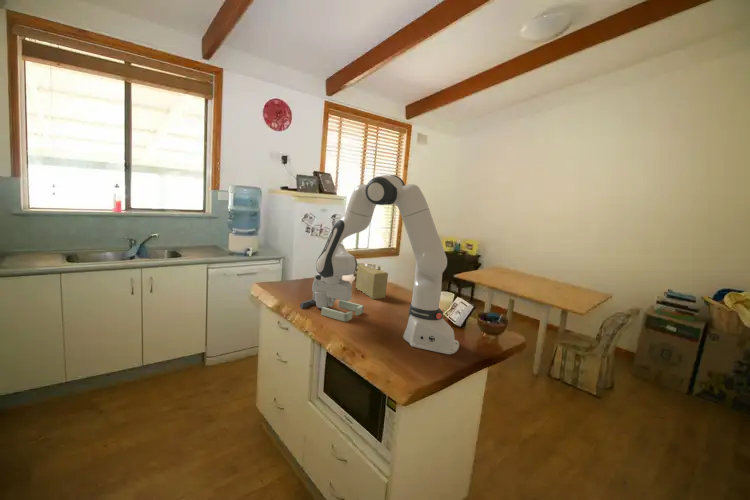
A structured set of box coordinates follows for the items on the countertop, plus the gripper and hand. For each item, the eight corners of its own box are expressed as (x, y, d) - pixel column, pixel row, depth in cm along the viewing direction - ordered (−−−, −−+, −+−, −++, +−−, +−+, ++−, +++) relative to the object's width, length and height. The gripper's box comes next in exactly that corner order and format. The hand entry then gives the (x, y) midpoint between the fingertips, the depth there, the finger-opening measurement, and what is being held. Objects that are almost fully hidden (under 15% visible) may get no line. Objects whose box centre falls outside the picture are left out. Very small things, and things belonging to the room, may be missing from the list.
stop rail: (319, 301, 175) (320, 297, 175) (302, 308, 163) (303, 303, 163) (317, 301, 176) (317, 296, 176) (300, 307, 164) (300, 302, 163)
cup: (307, 307, 168) (307, 290, 167) (319, 303, 174) (319, 288, 173) (323, 310, 161) (322, 293, 160) (335, 306, 167) (334, 290, 167)
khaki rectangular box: (349, 288, 206) (352, 264, 204) (362, 287, 212) (365, 263, 210) (372, 299, 189) (375, 273, 187) (386, 298, 195) (389, 272, 193)
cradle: (363, 312, 167) (363, 305, 166) (345, 322, 152) (346, 314, 151) (339, 306, 172) (340, 299, 171) (320, 314, 157) (321, 307, 157)
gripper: (355, 280, 161) (352, 309, 163) (319, 272, 170) (316, 300, 171) (348, 283, 155) (345, 312, 157) (311, 274, 164) (309, 303, 166)
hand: (330, 306), depth 164 cm, fingers closed
